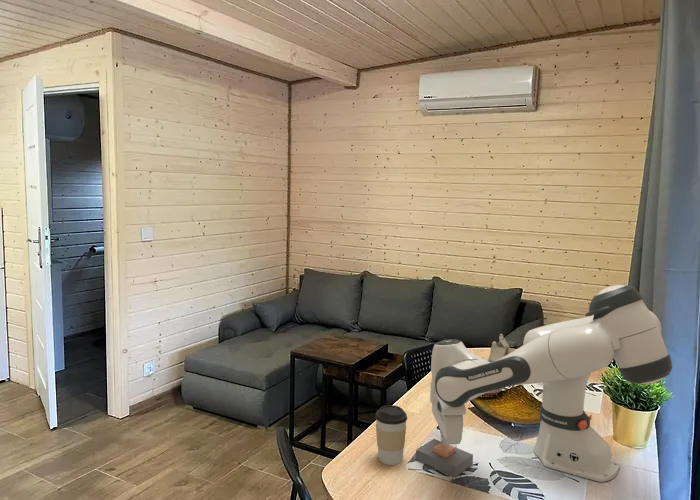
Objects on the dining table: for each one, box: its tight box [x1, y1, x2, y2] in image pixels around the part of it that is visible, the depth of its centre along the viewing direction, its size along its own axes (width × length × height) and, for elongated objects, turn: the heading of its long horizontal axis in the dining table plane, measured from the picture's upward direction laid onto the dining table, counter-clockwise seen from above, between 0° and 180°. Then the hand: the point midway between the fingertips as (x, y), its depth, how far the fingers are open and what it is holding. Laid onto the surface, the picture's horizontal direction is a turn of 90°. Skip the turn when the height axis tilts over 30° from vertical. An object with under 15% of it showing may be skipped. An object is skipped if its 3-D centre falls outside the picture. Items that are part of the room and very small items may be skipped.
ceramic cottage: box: [487, 333, 517, 362], centre depth 217 cm, size 16×16×15 cm
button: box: [433, 442, 456, 458], centre depth 145 cm, size 4×4×3 cm
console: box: [415, 438, 474, 478], centre depth 145 cm, size 13×9×3 cm
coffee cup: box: [375, 404, 408, 466], centre depth 146 cm, size 9×9×15 cm
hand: (444, 443), depth 145 cm, fingers closed
